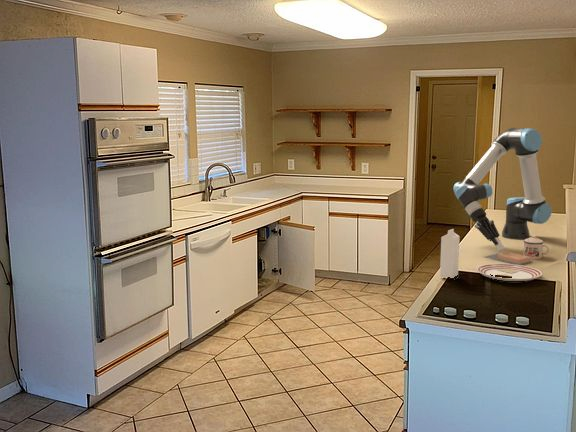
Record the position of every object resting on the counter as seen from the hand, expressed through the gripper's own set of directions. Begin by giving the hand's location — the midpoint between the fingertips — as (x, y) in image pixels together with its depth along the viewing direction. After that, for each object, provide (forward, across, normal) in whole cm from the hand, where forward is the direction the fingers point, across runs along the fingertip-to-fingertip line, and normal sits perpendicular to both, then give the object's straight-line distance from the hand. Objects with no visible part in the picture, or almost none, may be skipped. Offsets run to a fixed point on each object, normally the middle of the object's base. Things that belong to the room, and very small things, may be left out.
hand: (502, 249), depth 291 cm
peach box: (+3, 0, -2) cm, 3 cm away
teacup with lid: (+10, -15, +3) cm, 18 cm away
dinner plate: (+18, +23, +10) cm, 31 cm away
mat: (+6, 0, -1) cm, 6 cm away
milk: (+8, +46, 0) cm, 46 cm away
